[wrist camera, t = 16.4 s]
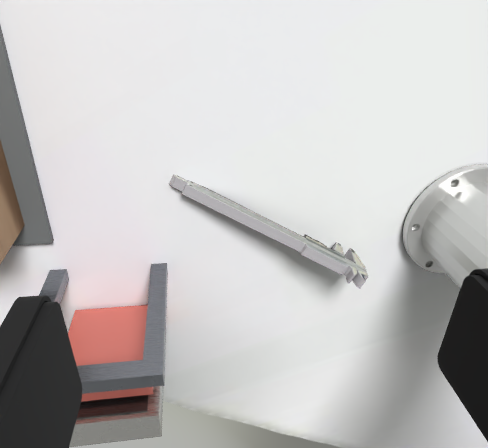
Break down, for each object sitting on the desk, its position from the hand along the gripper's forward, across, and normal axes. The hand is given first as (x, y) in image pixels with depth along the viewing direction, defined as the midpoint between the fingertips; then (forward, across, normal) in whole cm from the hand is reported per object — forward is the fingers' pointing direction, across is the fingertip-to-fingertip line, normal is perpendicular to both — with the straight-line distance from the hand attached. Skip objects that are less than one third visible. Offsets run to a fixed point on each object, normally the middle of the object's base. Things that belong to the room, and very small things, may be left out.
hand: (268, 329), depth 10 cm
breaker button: (+27, +11, +23) cm, 37 cm away
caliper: (+28, -5, +12) cm, 31 cm away
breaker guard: (+27, +11, +22) cm, 36 cm away
